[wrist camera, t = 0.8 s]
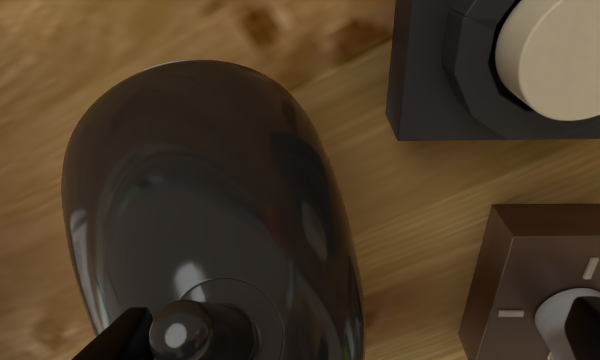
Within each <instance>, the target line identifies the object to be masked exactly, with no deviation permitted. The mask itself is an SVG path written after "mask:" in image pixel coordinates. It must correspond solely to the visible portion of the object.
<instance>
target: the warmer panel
mask: <svg viewBox="0 0 600 360" xmlns="http://www.w3.org/2000/svg"><path fill="white" fill-rule="evenodd" d="M576 288H588V289H593V290H596V291H598V292H600V204H493V205H492V207H491V211H490V214H489V218H488V222H487V226H486V230H485V234H484V238H483V242H482V246H481V249H480V253H479V257H478V261H477V265H476V269H475V273H474V277H473V281H472V284H471V288H470V292H469V296H468V300H467V304H466V308H465V312H464V315H463V319H462V323H461V327H460V331H459V337H460V339H461V342H462V345H463V347H464V350H465V353H466V355H467V358H468V360H555V358H554V356H553V355H552V353H551V351H550V350H549V348H548V346H547V344H546V343H545V341H544V339H543V338H542V336H541V334H540V332H539V331H538V329H537V327H536V325H535V314H536V312H537V310H538V308H539V307H540V306H541V305H542V304H543V303H544V302H545V301H546V300H547V299H549V298H550V297H552V296H554V295H556V294H558V293H560V292H563V291H566V290H570V289H576Z"/></svg>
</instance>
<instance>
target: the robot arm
mask: <svg viewBox="0 0 600 360" xmlns="http://www.w3.org/2000/svg"><path fill="white" fill-rule="evenodd" d="M152 321H153V317H152V314H151V311H150V309H149V308H148V307H131V308H128V309H127V310H125V311H124V312H123V313H122V314H121V315H120V316H119V317H118V318H117V319H116V320H114V321H113V322H112V323H111V324H110V325H109V326H108V327H107V328H106V329H105V330H103V331H102V332H101V333H100V334H99V335H98V336H97V337H96V338H95V339H94V340H93V341H91V342H90V343H89V344H88V345H87V346H86V347H85V348H84V349H83V350H82V351H80V352H79V353H78V354H77V355H76V356H75V357H74V358H73V359H72V360H154V356H153V354H152V352H151V350H150V347H149V339H148V336H149V329H150V326H151V323H152ZM564 330H565V334H566V337H567V340H568V342H569V345H570V347H571V349H572V352H573V354H574V357H575V359H576V360H600V297H596V296H579V297H577V298H575V299H574V301H573V303H572V305H571V308H570V310H569V313H568V316H567V318H566V321H565V325H564Z"/></svg>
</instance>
